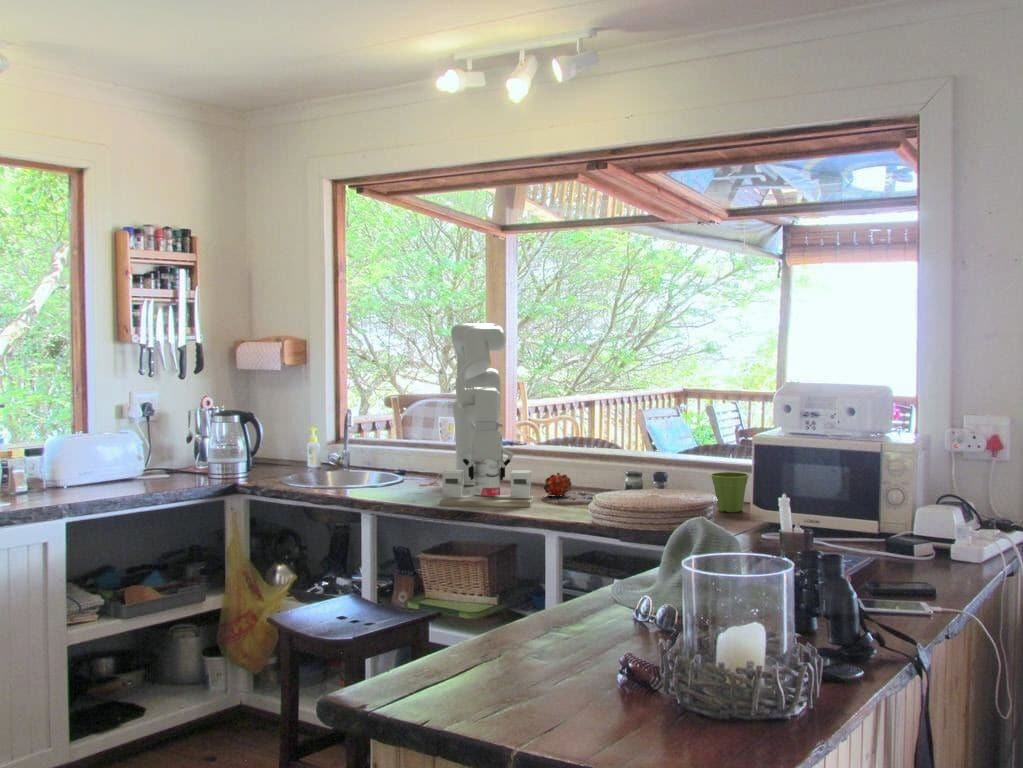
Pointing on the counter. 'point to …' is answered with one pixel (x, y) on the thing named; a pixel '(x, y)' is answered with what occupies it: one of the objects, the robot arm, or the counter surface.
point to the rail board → (456, 497)
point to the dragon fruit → (557, 484)
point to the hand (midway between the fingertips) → (486, 479)
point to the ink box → (487, 478)
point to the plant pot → (730, 490)
